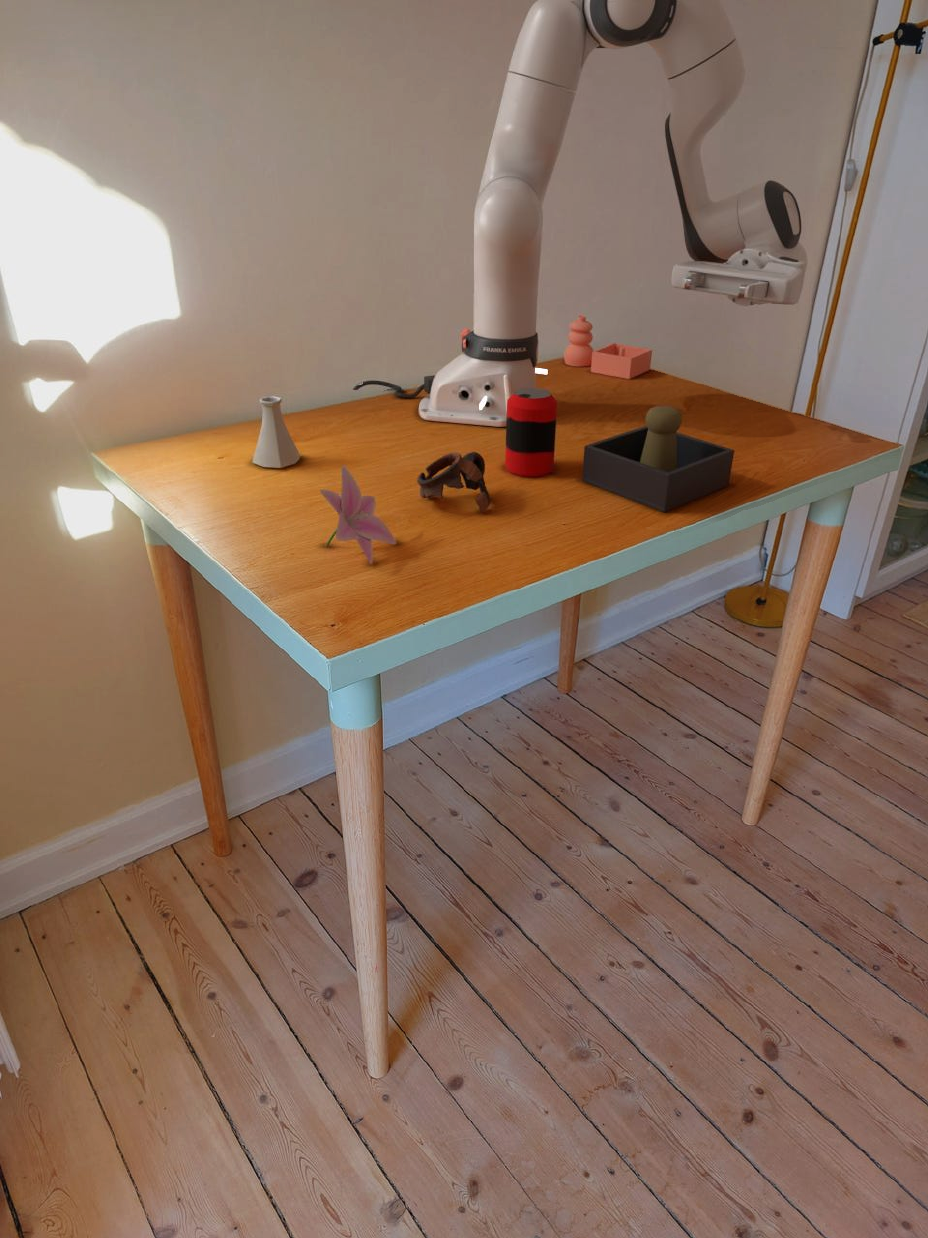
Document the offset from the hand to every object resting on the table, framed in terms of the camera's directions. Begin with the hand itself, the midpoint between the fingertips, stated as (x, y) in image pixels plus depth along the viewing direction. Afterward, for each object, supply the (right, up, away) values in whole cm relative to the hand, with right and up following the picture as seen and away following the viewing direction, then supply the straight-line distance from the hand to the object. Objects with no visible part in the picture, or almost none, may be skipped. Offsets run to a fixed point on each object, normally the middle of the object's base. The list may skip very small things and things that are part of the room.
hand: (714, 287), depth 138 cm
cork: (-9, -30, -2) cm, 31 cm away
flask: (-68, -26, +5) cm, 73 cm away
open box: (-9, -30, -2) cm, 32 cm away
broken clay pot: (-39, -34, -8) cm, 52 cm away
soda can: (-28, -27, +3) cm, 39 cm away
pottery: (-9, +3, +56) cm, 56 cm away
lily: (-52, -42, -22) cm, 71 cm away
